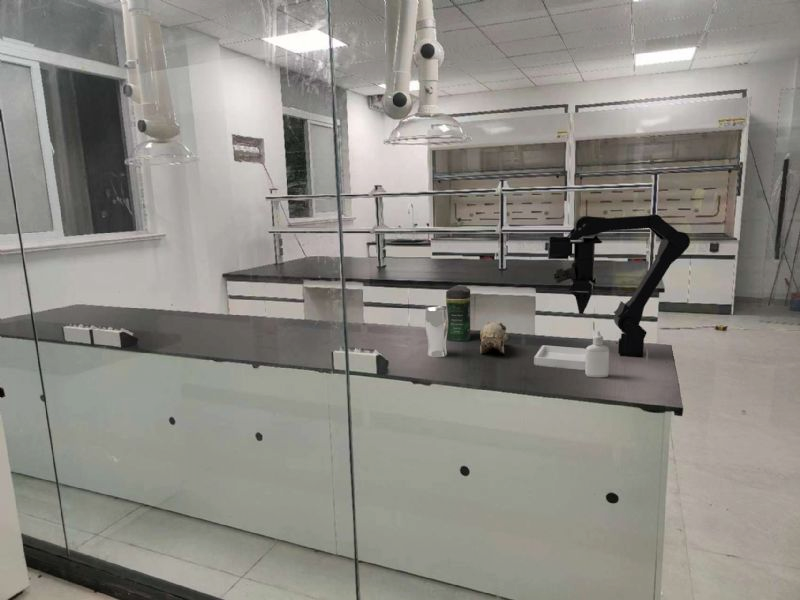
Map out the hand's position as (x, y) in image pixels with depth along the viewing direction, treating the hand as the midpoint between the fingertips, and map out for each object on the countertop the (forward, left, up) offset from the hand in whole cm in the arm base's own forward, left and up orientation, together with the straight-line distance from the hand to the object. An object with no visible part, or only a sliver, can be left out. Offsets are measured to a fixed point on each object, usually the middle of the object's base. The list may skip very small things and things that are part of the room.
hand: (582, 310), depth 162 cm
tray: (+4, +11, -13) cm, 17 cm away
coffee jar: (+40, -3, -13) cm, 42 cm away
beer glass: (+40, +18, -13) cm, 46 cm away
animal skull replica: (+25, +8, -13) cm, 29 cm away
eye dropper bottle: (-6, +22, -13) cm, 26 cm away
